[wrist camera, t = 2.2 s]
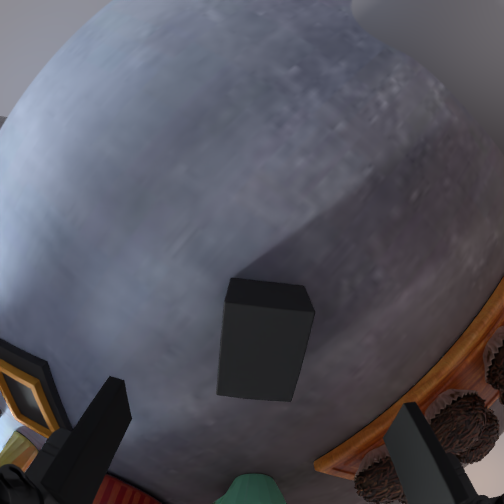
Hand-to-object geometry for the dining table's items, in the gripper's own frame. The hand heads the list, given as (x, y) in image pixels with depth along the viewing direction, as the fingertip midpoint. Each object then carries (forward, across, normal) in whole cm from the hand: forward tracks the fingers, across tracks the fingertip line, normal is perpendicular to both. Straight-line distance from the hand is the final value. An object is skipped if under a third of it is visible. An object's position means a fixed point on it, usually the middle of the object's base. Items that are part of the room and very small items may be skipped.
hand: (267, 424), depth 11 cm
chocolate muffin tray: (+10, +22, -10) cm, 26 cm away
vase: (+9, -38, -35) cm, 53 cm away
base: (+9, -27, -17) cm, 33 cm away
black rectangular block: (+9, 0, 0) cm, 9 cm away
